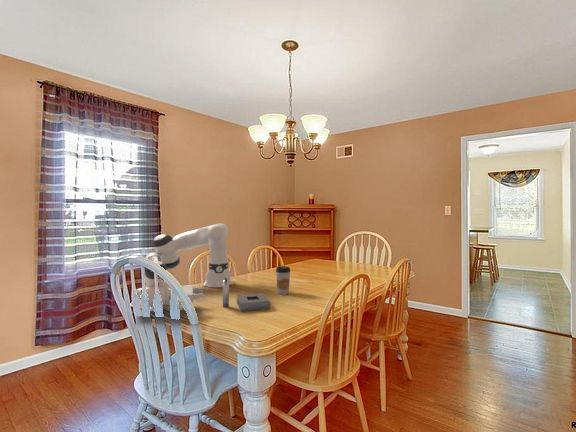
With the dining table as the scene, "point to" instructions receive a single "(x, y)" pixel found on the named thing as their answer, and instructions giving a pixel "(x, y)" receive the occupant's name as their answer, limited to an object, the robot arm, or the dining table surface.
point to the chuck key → (225, 292)
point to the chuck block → (253, 302)
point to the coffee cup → (283, 279)
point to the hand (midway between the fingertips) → (203, 292)
